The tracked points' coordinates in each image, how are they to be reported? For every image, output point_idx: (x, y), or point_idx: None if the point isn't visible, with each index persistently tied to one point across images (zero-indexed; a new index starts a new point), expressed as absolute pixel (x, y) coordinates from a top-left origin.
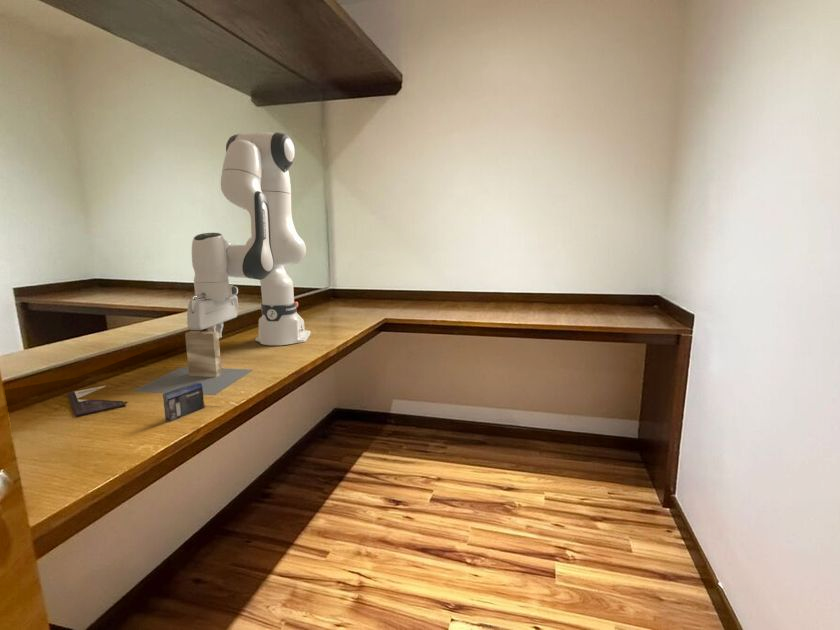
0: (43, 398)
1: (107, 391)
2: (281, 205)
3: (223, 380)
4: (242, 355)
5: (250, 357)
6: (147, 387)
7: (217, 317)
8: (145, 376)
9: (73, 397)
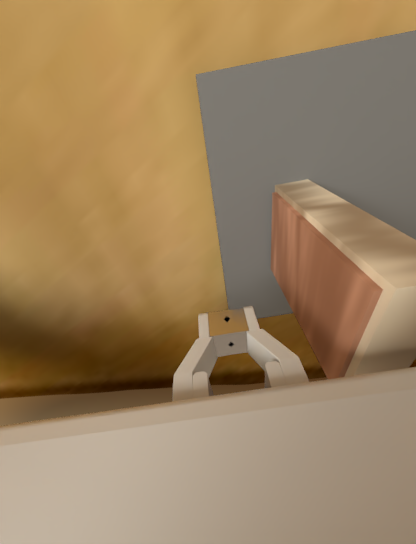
0: None
1: None
2: None
3: (353, 118)
4: (56, 272)
5: (52, 233)
6: None
7: (312, 457)
8: (287, 338)
9: None
